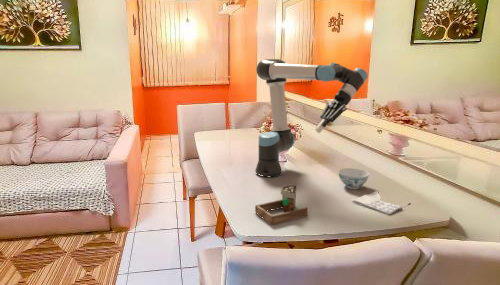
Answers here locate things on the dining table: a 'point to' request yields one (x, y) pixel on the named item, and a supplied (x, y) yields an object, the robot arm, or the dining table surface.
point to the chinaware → (353, 177)
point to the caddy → (279, 218)
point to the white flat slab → (376, 203)
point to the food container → (289, 197)
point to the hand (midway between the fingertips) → (317, 131)
